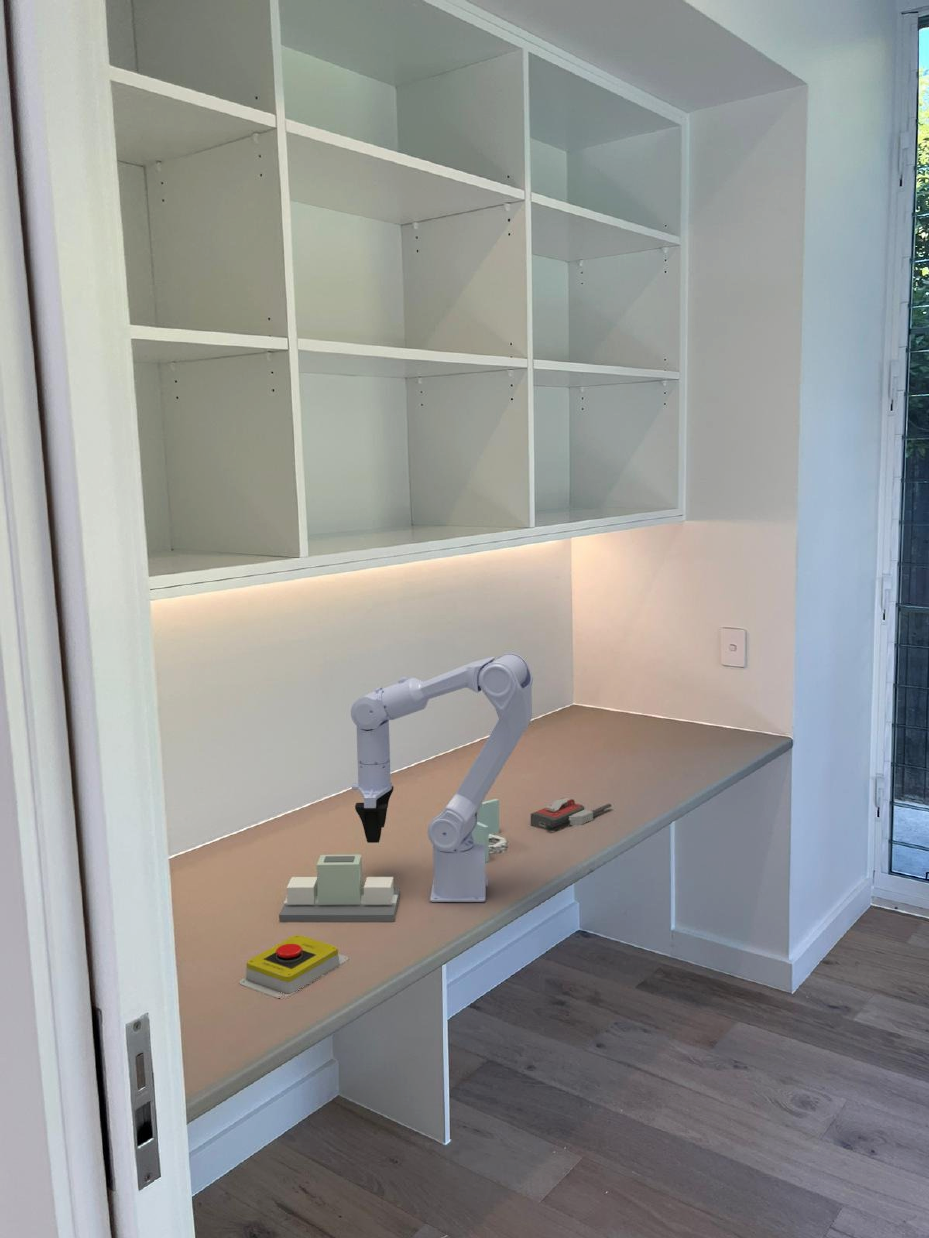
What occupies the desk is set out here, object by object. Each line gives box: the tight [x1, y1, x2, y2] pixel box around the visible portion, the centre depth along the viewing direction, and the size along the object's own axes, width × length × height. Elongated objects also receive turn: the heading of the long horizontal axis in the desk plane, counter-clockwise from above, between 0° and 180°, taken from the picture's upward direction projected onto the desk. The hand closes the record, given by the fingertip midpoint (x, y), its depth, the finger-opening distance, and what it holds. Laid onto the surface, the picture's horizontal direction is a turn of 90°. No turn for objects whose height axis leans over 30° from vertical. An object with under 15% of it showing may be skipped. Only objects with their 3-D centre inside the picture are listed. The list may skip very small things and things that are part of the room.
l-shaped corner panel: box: [471, 798, 508, 863], centre depth 207 cm, size 12×12×8 cm
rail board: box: [278, 876, 401, 923], centre depth 180 cm, size 19×11×5 cm, turn 88°
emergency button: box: [238, 934, 349, 999], centre depth 158 cm, size 9×4×15 cm
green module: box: [316, 854, 364, 905], centre depth 179 cm, size 7×4×7 cm, turn 90°
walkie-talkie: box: [530, 797, 612, 832], centre depth 223 cm, size 9×4×20 cm
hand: (375, 834), depth 189 cm, fingers open, 7 cm apart
